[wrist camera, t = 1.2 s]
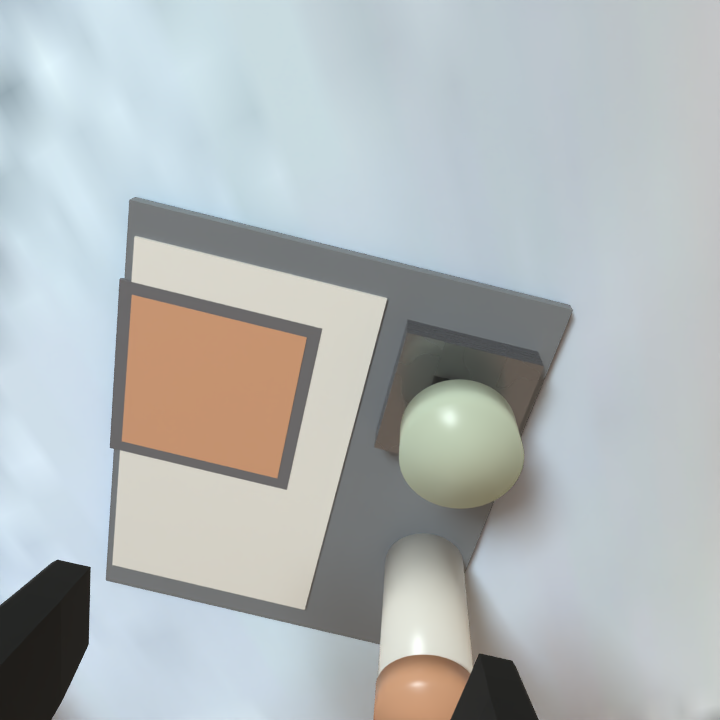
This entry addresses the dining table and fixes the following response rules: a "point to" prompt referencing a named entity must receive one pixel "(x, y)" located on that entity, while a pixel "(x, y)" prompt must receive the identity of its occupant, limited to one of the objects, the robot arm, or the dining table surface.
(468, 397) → the button
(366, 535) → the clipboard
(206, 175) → the dining table surface
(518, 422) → the button housing
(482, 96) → the dining table surface
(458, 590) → the marker
